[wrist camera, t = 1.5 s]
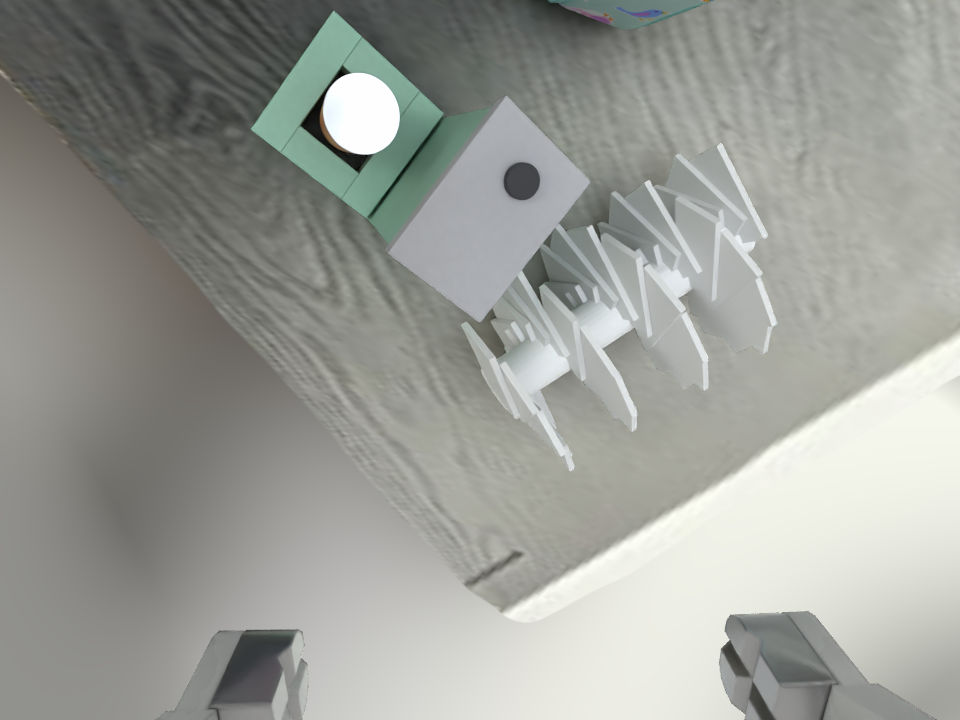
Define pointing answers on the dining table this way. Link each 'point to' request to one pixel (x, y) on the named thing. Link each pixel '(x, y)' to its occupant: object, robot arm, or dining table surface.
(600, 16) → the lunch box
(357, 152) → the orange silver-capped cylinder
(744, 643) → the robot arm
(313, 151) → the square frame
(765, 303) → the spiral staircase
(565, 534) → the dining table surface
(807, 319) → the dining table surface
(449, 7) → the dining table surface
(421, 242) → the pet feeder tower
